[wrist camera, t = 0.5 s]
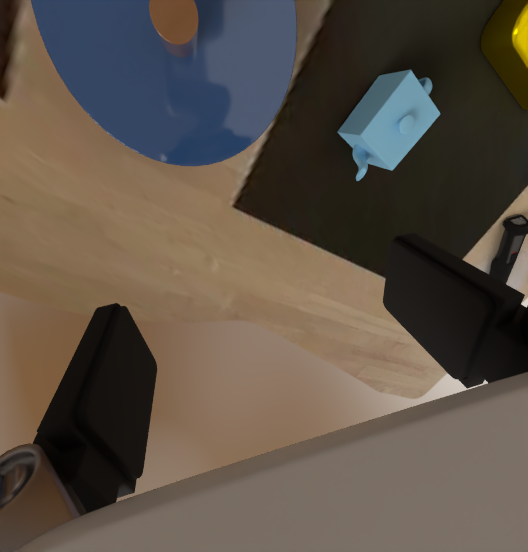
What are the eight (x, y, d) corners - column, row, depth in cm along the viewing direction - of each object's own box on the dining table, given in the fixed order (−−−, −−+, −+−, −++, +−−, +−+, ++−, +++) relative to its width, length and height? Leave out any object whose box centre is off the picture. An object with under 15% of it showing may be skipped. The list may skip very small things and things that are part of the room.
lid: (69, -286, 14) (-2, -514, 9) (335, -13, 22) (379, -50, 17) (14, 89, 21) (-45, 82, 16) (233, 197, 29) (241, 216, 23)
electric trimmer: (478, 289, 56) (492, 298, 53) (502, 218, 47) (520, 225, 45) (494, 284, 56) (509, 292, 54) (521, 213, 48) (540, 219, 45)
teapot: (346, 183, 38) (376, 197, 32) (316, 155, 35) (343, 165, 29) (411, 101, 34) (460, 100, 28) (384, 63, 31) (431, 52, 25)
